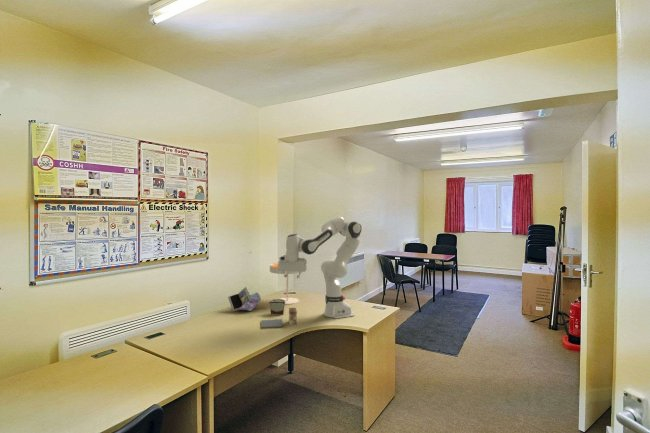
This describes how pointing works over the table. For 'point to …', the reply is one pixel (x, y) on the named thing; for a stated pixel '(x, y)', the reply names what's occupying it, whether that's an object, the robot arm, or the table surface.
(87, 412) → the table surface
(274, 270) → the orange pedestal table
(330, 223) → the robot arm
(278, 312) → the half chocolate cake
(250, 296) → the pastel lumpy piece
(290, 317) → the tall wooden block
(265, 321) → the mat
